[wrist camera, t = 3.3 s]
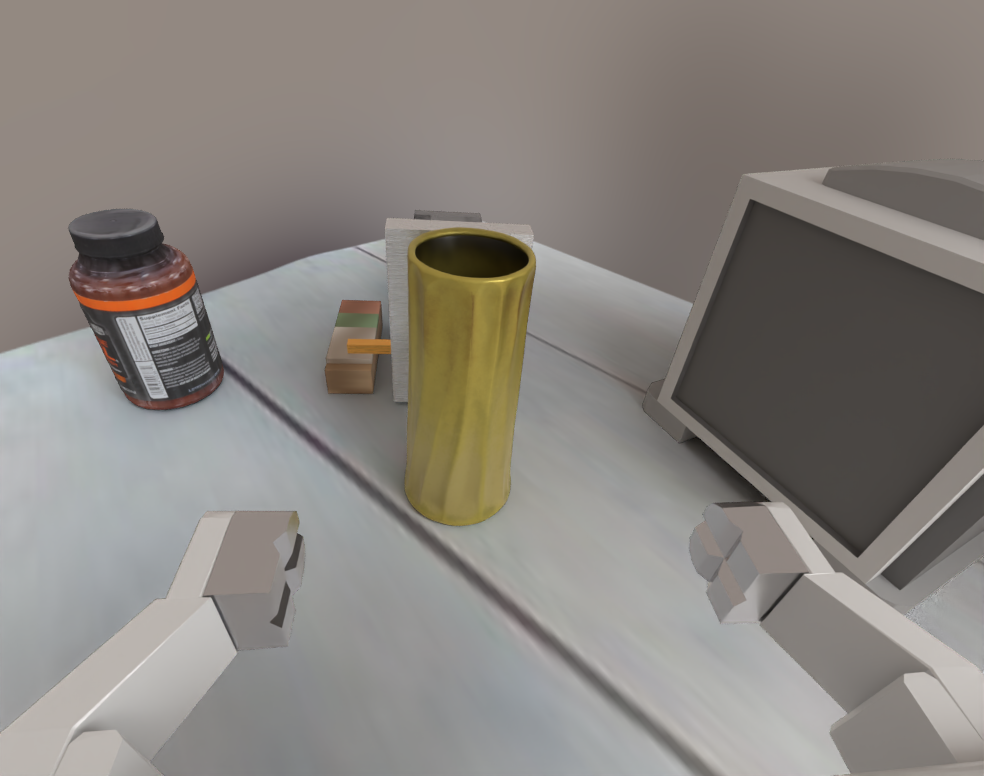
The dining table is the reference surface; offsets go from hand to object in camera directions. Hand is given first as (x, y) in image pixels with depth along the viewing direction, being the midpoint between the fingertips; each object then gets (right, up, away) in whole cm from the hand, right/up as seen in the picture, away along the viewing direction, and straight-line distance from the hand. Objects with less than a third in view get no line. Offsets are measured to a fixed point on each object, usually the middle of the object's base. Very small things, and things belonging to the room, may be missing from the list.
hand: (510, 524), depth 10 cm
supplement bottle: (-22, +3, +24) cm, 32 cm away
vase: (-2, -3, +19) cm, 20 cm away
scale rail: (-11, +5, +28) cm, 30 cm away
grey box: (+20, -2, +23) cm, 31 cm away
